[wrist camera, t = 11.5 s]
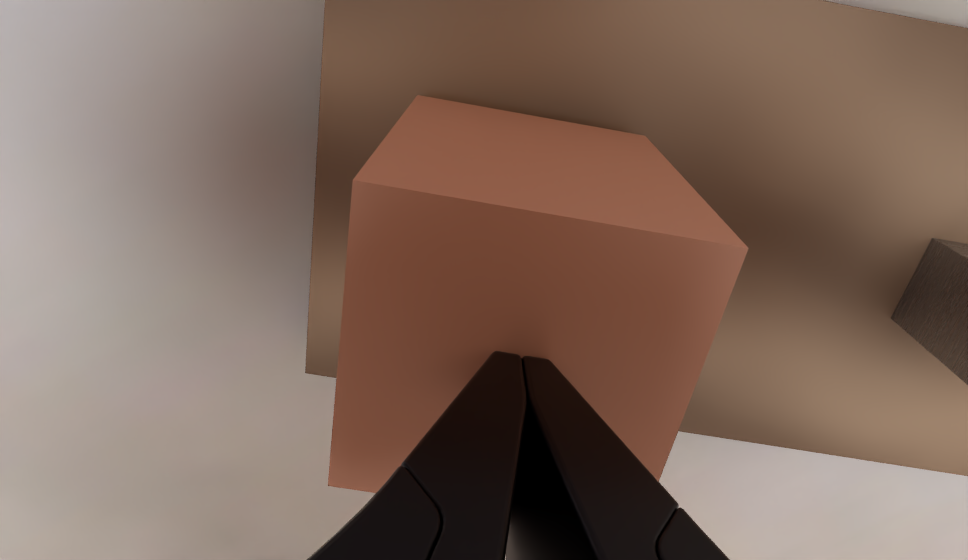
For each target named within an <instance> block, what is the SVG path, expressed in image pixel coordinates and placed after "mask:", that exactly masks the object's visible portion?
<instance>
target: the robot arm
mask: <svg viewBox="0 0 968 560" xmlns="http://www.w3.org/2000/svg"><path fill="white" fill-rule="evenodd" d="M505 554H506V560H729V558H728V557H727V556H726V555H725V554H724V553H723V552H722V551H721V550H720V549H719V548H718V547H717V546H716V545H715V543H714V542H713V541H712V540H711V539H710V538H709V537H708V536H707V535H706V534H705V533H704V532H703V531H702V530H701V529H700V527H699V526H698V525H697V524H696V523H695V522H694V521H693V520H692V518H691V517H690V516H689V515H688V514H687V513H686V512H685V511H684V509H682V508H678V503H677V502H676V501H675V500H674V499H673V497H672V496H671V495H670V494H669V493H668V492H667V491H666V490H665V488H664V487H663V486H662V485H661V484H660V483H659V482H658V481H657V479H656V478H655V477H654V476H653V475H652V474H651V473H650V472H649V471H648V469H647V468H646V467H645V466H644V465H643V464H642V463H641V462H640V460H639V459H638V458H637V457H636V456H635V455H634V454H633V453H632V451H631V450H630V449H629V448H628V447H627V446H626V445H625V444H624V442H623V441H622V440H621V439H620V438H619V437H618V436H617V435H616V434H615V432H614V431H613V430H612V429H611V428H610V427H609V426H608V425H607V423H606V422H605V421H604V420H603V419H602V418H601V417H600V416H599V414H598V413H597V412H596V411H595V410H594V409H593V408H592V407H591V405H590V404H589V403H588V402H587V401H586V400H585V399H584V398H583V396H582V395H581V394H580V393H579V392H578V391H577V390H576V389H575V388H574V386H573V385H572V384H571V383H570V382H569V381H568V380H567V379H566V377H565V376H564V375H563V374H562V373H561V372H560V371H559V370H558V368H557V367H556V366H555V365H554V364H553V363H552V362H551V361H550V360H548V359H545V358H538V357H532V356H524V357H522V358H521V356H519V355H518V354H513V353H507V352H501V351H495V352H493V353H492V354H491V355H490V356H489V357H488V359H487V360H486V361H485V362H484V363H483V365H482V366H481V367H480V368H479V370H478V371H477V372H476V373H475V374H474V376H473V377H472V378H471V379H470V381H469V382H468V383H467V384H466V385H465V387H464V388H463V389H462V390H461V392H460V393H459V394H458V395H457V396H456V398H455V399H454V400H453V401H452V402H451V404H450V405H449V406H448V407H447V409H446V410H445V411H444V412H443V413H442V415H441V416H440V417H439V418H438V420H437V421H436V422H435V423H434V424H433V426H432V427H431V428H430V429H429V431H428V432H427V433H426V434H425V435H424V437H423V438H422V439H421V440H420V442H419V443H418V444H417V445H416V446H415V448H414V449H413V450H412V451H411V452H410V454H409V455H408V456H407V457H406V459H405V460H404V461H403V462H402V464H401V466H399V467H398V468H397V469H396V470H395V472H394V473H393V474H392V475H391V476H390V478H389V479H388V480H387V481H386V483H385V484H384V485H383V486H382V487H381V488H380V489H379V490H378V492H377V493H376V494H375V495H374V496H373V497H372V498H371V499H370V500H369V502H368V503H367V504H366V505H365V506H364V507H363V508H362V509H361V510H360V511H359V512H358V513H357V514H356V515H355V516H354V517H353V518H352V519H351V520H350V521H349V522H348V523H347V524H346V525H345V526H343V527H342V528H341V529H340V530H339V531H338V532H337V533H336V534H335V535H334V536H333V537H332V538H331V539H330V540H328V541H327V542H326V543H325V544H324V545H323V546H322V547H321V548H320V549H318V550H317V551H316V552H315V553H314V554H313V555H312V556H311V557H310V558H308V559H307V560H505Z"/></svg>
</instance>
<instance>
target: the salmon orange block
mask: <svg viewBox="0 0 968 560" xmlns="http://www.w3.org/2000/svg"><path fill="white" fill-rule="evenodd" d="M748 249H749V248H748V247H747V246H746V245H745V244H744V243H743V241H742V240H741V239H740V238H739V237H738V236H737V235H736V234H735V233H734V232H733V231H732V230H731V228H730V227H729V226H728V225H727V224H726V223H725V222H724V221H723V220H722V219H721V218H720V217H719V215H718V214H717V213H716V212H715V211H714V210H713V209H712V208H711V207H710V206H709V205H708V204H707V202H706V201H705V200H704V199H703V198H702V197H701V196H700V195H699V194H698V193H697V192H696V190H695V189H694V188H693V187H692V186H691V185H690V184H689V183H688V182H687V181H686V180H685V179H684V177H683V176H682V175H681V174H680V173H679V172H678V171H677V170H676V169H675V168H674V167H673V166H672V164H671V163H670V162H669V161H668V160H667V159H666V158H665V157H664V156H663V155H662V154H661V152H660V151H659V150H658V149H657V148H656V147H655V146H654V145H653V144H652V143H651V142H650V141H649V139H648V138H647V137H646V136H644V135H638V134H632V133H627V132H621V131H616V130H610V129H605V128H599V127H593V126H588V125H582V124H577V123H571V122H566V121H560V120H554V119H549V118H543V117H538V116H532V115H527V114H521V113H515V112H510V111H504V110H499V109H493V108H488V107H482V106H476V105H471V104H465V103H460V102H454V101H449V100H443V99H437V98H432V97H426V96H421V95H417V96H416V98H415V99H414V100H413V101H412V103H411V104H410V105H409V107H408V108H407V109H406V111H405V112H404V113H403V115H402V116H401V117H400V119H399V120H398V121H397V122H396V124H395V125H394V126H393V128H392V129H391V130H390V132H389V133H388V134H387V136H386V137H385V138H384V140H383V141H382V142H381V143H380V145H379V146H378V147H377V149H376V150H375V151H374V153H373V154H372V155H371V157H370V158H369V159H368V161H367V162H366V163H365V164H364V166H363V167H362V168H361V170H360V171H359V172H358V174H357V175H356V176H355V178H354V179H353V182H352V194H351V207H350V219H349V231H348V244H347V256H346V268H345V281H344V293H343V305H342V318H341V330H340V342H339V355H338V367H337V379H336V392H335V404H334V417H333V429H332V441H331V454H330V466H329V478H328V486H333V487H340V488H346V489H353V490H360V491H367V492H373V493H377V492H378V490H379V489H380V488H381V487H382V486H383V485H384V484H385V483H386V481H387V480H388V479H389V478H390V476H391V475H392V474H393V473H394V472H395V470H396V469H397V468H398V467H399V466H401V464H402V462H403V461H404V460H405V459H406V457H407V456H408V455H409V454H410V452H411V451H412V450H413V449H414V448H415V446H416V445H417V444H418V443H419V442H420V440H421V439H422V438H423V437H424V435H425V434H426V433H427V432H428V431H429V429H430V428H431V427H432V426H433V424H434V423H435V422H436V421H437V420H438V418H439V417H440V416H441V415H442V413H443V412H444V411H445V410H446V409H447V407H448V406H449V405H450V404H451V402H452V401H453V400H454V399H455V398H456V396H457V395H458V394H459V393H460V392H461V390H462V389H463V388H464V387H465V385H466V384H467V383H468V382H469V381H470V379H471V378H472V377H473V376H474V374H475V373H476V372H477V371H478V370H479V368H480V367H481V366H482V365H483V363H484V362H485V361H486V360H487V359H488V357H489V356H490V355H491V354H492V353H493V352H495V351H501V352H507V353H513V354H518V355H519V356H521V358H522V357H524V356H532V357H538V358H545V359H548V360H550V361H551V362H552V363H553V364H554V365H555V366H556V367H557V368H558V370H559V371H560V372H561V373H562V374H563V375H564V376H565V377H566V379H567V380H568V381H569V382H570V383H571V384H572V385H573V386H574V388H575V389H576V390H577V391H578V392H579V393H580V394H581V395H582V396H583V398H584V399H585V400H586V401H587V402H588V403H589V404H590V405H591V407H592V408H593V409H594V410H595V411H596V412H597V413H598V414H599V416H600V417H601V418H602V419H603V420H604V421H605V422H606V423H607V425H608V426H609V427H610V428H611V429H612V430H613V431H614V432H615V434H616V435H617V436H618V437H619V438H620V439H621V440H622V441H623V442H624V444H625V445H626V446H627V447H628V448H629V449H630V450H631V451H632V453H633V454H634V455H635V456H636V457H637V458H638V459H639V460H640V462H641V463H642V464H643V465H644V466H645V467H646V468H647V469H648V471H649V472H650V473H651V474H652V475H653V476H654V477H655V478H656V479H657V481H658V482H659V479H660V477H661V474H662V471H663V469H664V466H665V464H666V461H667V459H668V456H669V453H670V451H671V448H672V446H673V443H674V440H675V438H676V435H677V433H678V430H679V427H680V425H681V422H682V420H683V417H684V414H685V412H686V409H687V407H688V404H689V401H690V399H691V396H692V394H693V391H694V389H695V386H696V383H697V381H698V378H699V376H700V373H701V370H702V368H703V365H704V363H705V360H706V357H707V355H708V352H709V350H710V347H711V344H712V342H713V339H714V337H715V334H716V331H717V329H718V326H719V324H720V321H721V319H722V316H723V313H724V311H725V308H726V306H727V303H728V300H729V298H730V295H731V293H732V290H733V287H734V285H735V282H736V280H737V277H738V274H739V272H740V269H741V267H742V264H743V261H744V259H745V256H746V254H747V251H748Z"/></svg>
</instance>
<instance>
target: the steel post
mask: <svg viewBox="0 0 968 560" xmlns="http://www.w3.org/2000/svg"><path fill="white" fill-rule="evenodd" d="M891 319H892V320H893V321H894V322H895V323H897V324H898V325H899V326H900V327H901V328H902V329H903V330H905V331H906V332H907V333H908V334H909V335H910V336H912V337H913V338H914V339H915V340H916V341H917V342H918V343H920V344H921V345H922V346H923V347H924V348H925V349H927V350H928V351H929V352H930V353H931V354H932V355H933V356H935V357H936V358H937V359H938V360H939V361H940V362H942V363H943V364H944V365H945V366H946V367H947V368H948V369H950V370H951V371H952V372H953V373H954V374H955V375H957V376H958V377H959V378H960V379H961V380H962V381H963V382H965V383H966V384H967V385H968V244H965V243H960V242H954V241H948V240H942V239H937V238H932V239H931V241H930V243H929V245H928V247H927V249H926V251H925V252H924V254H923V256H922V258H921V260H920V262H919V264H918V266H917V268H916V270H915V272H914V274H913V276H912V278H911V279H910V281H909V283H908V285H907V287H906V289H905V291H904V293H903V295H902V297H901V299H900V301H899V303H898V305H897V306H896V308H895V310H894V312H893V314H892V316H891Z"/></svg>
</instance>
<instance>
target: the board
mask: <svg viewBox="0 0 968 560" xmlns="http://www.w3.org/2000/svg"><path fill="white" fill-rule="evenodd" d="M417 95H421V96H426V97H432V98H437V99H443V100H449V101H454V102H460V103H465V104H471V105H476V106H482V107H488V108H493V109H499V110H504V111H510V112H515V113H521V114H527V115H532V116H538V117H543V118H549V119H554V120H560V121H566V122H571V123H577V124H582V125H588V126H593V127H599V128H605V129H610V130H616V131H621V132H627V133H632V134H638V135H644V136H646V137H647V138H648V139H649V141H650V142H651V143H652V144H653V145H654V146H655V147H656V148H657V149H658V150H659V151H660V152H661V154H662V155H663V156H664V157H665V158H666V159H667V160H668V161H669V162H670V163H671V164H672V166H673V167H674V168H675V169H676V170H677V171H678V172H679V173H680V174H681V175H682V176H683V177H684V179H685V180H686V181H687V182H688V183H689V184H690V185H691V186H692V187H693V188H694V189H695V190H696V192H697V193H698V194H699V195H700V196H701V197H702V198H703V199H704V200H705V201H706V202H707V204H708V205H709V206H710V207H711V208H712V209H713V210H714V211H715V212H716V213H717V214H718V215H719V217H720V218H721V219H722V220H723V221H724V222H725V223H726V224H727V225H728V226H729V227H730V228H731V230H732V231H733V232H734V233H735V234H736V235H737V236H738V237H739V238H740V239H741V240H742V241H743V243H744V244H745V245H746V246H747V247H748V248H749V249H748V251H747V254H746V256H745V259H744V261H743V264H742V267H741V269H740V272H739V274H738V277H737V280H736V282H735V285H734V287H733V290H732V293H731V295H730V298H729V300H728V303H727V306H726V308H725V311H724V313H723V316H722V319H721V321H720V324H719V326H718V329H717V331H716V334H715V337H714V339H713V342H712V344H711V347H710V350H709V352H708V355H707V357H706V360H705V363H704V365H703V368H702V370H701V373H700V376H699V378H698V381H697V383H696V386H695V389H694V391H693V394H692V396H691V399H690V401H689V404H688V407H687V409H686V412H685V414H684V417H683V420H682V422H681V425H680V427H679V430H678V431H681V432H688V433H694V434H701V435H707V436H714V437H720V438H726V439H733V440H739V441H746V442H752V443H759V444H765V445H771V446H778V447H784V448H791V449H797V450H804V451H810V452H816V453H823V454H829V455H836V456H842V457H849V458H855V459H861V460H868V461H874V462H881V463H887V464H894V465H900V466H906V467H913V468H919V469H926V470H932V471H939V472H945V473H952V474H958V475H964V476H968V385H967V384H966V383H965V382H963V381H962V380H961V379H960V378H959V377H958V376H957V375H955V374H954V373H953V372H952V371H951V370H950V369H948V368H947V367H946V366H945V365H944V364H943V363H942V362H940V361H939V360H938V359H937V358H936V357H935V356H933V355H932V354H931V353H930V352H929V351H928V350H927V349H925V348H924V347H923V346H922V345H921V344H920V343H918V342H917V341H916V340H915V339H914V338H913V337H912V336H910V335H909V334H908V333H907V332H906V331H905V330H903V329H902V328H901V327H900V326H899V325H898V324H897V323H895V322H894V321H893V320H892V319H891V316H892V314H893V312H894V310H895V308H896V306H897V305H898V303H899V301H900V299H901V297H902V295H903V293H904V291H905V289H906V287H907V285H908V283H909V281H910V279H911V278H912V276H913V274H914V272H915V270H916V268H917V266H918V264H919V262H920V260H921V258H922V256H923V254H924V252H925V251H926V249H927V247H928V245H929V243H930V241H931V239H932V238H937V239H942V240H948V241H954V242H960V243H965V244H968V28H963V27H958V26H953V25H948V24H942V23H937V22H932V21H927V20H922V19H916V18H911V17H906V16H901V15H895V14H890V13H885V12H880V11H874V10H869V9H864V8H859V7H854V6H848V5H843V4H838V3H833V2H827V1H822V0H325V10H324V29H323V48H322V67H321V86H320V105H319V124H318V143H317V161H316V180H315V199H314V218H313V237H312V256H311V275H310V294H309V312H308V331H307V350H306V369H305V373H308V374H315V375H321V376H328V377H334V378H337V367H338V355H339V342H340V330H341V318H342V305H343V293H344V281H345V268H346V256H347V244H348V231H349V219H350V207H351V194H352V182H353V179H354V178H355V176H356V175H357V174H358V172H359V171H360V170H361V168H362V167H363V166H364V164H365V163H366V162H367V161H368V159H369V158H370V157H371V155H372V154H373V153H374V151H375V150H376V149H377V147H378V146H379V145H380V143H381V142H382V141H383V140H384V138H385V137H386V136H387V134H388V133H389V132H390V130H391V129H392V128H393V126H394V125H395V124H396V122H397V121H398V120H399V119H400V117H401V116H402V115H403V113H404V112H405V111H406V109H407V108H408V107H409V105H410V104H411V103H412V101H413V100H414V99H415V98H416V96H417Z"/></svg>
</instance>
